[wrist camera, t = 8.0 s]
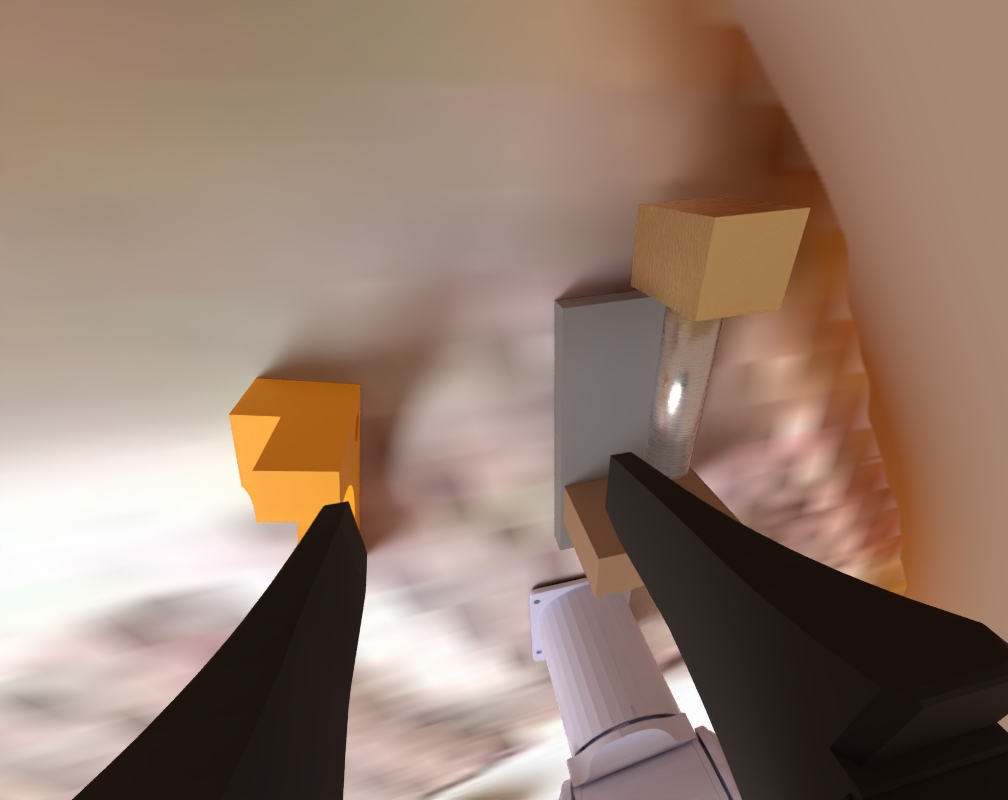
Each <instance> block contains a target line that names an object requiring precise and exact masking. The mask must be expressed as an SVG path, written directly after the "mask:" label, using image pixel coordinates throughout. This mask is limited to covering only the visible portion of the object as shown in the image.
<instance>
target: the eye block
mask: <svg viewBox="0 0 1008 800" xmlns="http://www.w3.org/2000/svg"><path fill="white" fill-rule="evenodd" d="M665 309H666V305H664V304H663V303H661V302H659V301H657V300H655V299H654V298H652V297H650V296H648V295H646V294H644V293H643V292H641V291H639V290H635V291H627V292H619V293H611V294H603V295H595V296H587V297H580V298H572V299H564V300H556V301H555V538H556V540H557V543H558V546H559V548H560V550H564V549H568V548H573V547H574V548H575V551H576V553H577V555H578V558H579V560H580V562H581V565H582V567H583V570H584V572H585V574H586V577H587V579H588V581H589V584H590V586H591V588H592V591H593V593H594V596H595V598H596V597H600V596H605V595H609V594H613V593H617V592H622V591H626V590H630V589H635V588H639V587H643V586H645V585H644V583H643V581H642V580H641V578H640V576H639V574H638V573H637V571H636V569H635V568H634V566H633V564H632V562H631V561H630V559H629V557H628V555H627V554H626V552H625V550H624V548H623V546H622V545H621V543H620V541H619V539H618V537H617V535H616V532H615V530H614V528H613V526H612V523H611V521H610V518H609V516H608V513H607V511H606V508H605V503H606V493H607V484H608V474H609V465H610V455H615V454H621V453H626V452H632V453H633V454H635V455H636V456H638V457H639V458H641V459H642V460H643V457H644V451H645V444H646V437H647V430H648V424H649V417H650V410H651V403H652V397H653V390H654V383H655V376H656V370H657V363H658V356H659V349H660V343H661V336H662V329H663V323H664V316H665ZM671 480H673V481H674V482H676V483H677V484H679V485H680V486H682V487H683V488H685V489H686V490H688V491H689V492H691V493H692V494H694V495H695V496H697V497H698V498H700V499H701V500H703V501H705V502H706V503H708V504H709V505H711V506H713V507H714V508H716V509H717V510H719V511H721V512H722V513H724V514H726V515H728V516H729V517H731V518H733V519H734V520H736V521H738V522H739V523H741V522H740V521H739V520H738V519H737V518H736V517H735V515H734V514H733V513H732V512H731V511H730V510H729V509H728V508H727V507H726V506H725V505H724V504H723V502H722V501H721V500H720V499H719V498H718V497H717V496H716V495H715V494H714V493H713V492H712V490H711V489H710V488H709V487H708V486H707V485H706V484H705V483H704V482H703V481H702V480H701V478H700V477H699V476H698V475H697V474H696V473H695V472H694V471H693V470H692V469H691V468H690V467H689V469H688V472H687V474H686V475H685V476H683V477H681V478H678V479H671ZM741 524H742V523H741Z"/></svg>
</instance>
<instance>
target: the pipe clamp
mask: <svg viewBox="0 0 1008 800" xmlns="http://www.w3.org/2000/svg"><path fill="white" fill-rule="evenodd" d="M229 418H230V423H231V429H232V434H233V440H234V446H235V451H236V457H237V463H238V468H239V474H240V479H241V485H242V487H243V488H244V489H245V490H246V491H247V492H248V494H249V496H250V498H251V500H252V503H253V506H254V510H255V515H256V523H264V522H298V544H299V542H300V541H301V539H302V538H303V536H304V535H305V533H306V531H307V530H308V528H309V527H310V525H311V524H312V522H313V521H314V519H315V518H316V516H317V515H318V513H319V512H320V510H321V509H322V507H323V506H324V505H329V504H335V503H340V502H346V501H349V504H350V506H351V509H352V512H353V515H354V518H355V521H356V523H357V526H358V529H359V532H360V385H359V384H342V383H326V382H310V381H294V380H278V379H262V378H256V379H255V380H254V382H253V383H252V384H251V386H250V387H249V388H248V390H247V391H246V392H245V394H244V395H243V396H242V398H241V399H240V401H239V402H238V403H237V405H236V406H235V407H234V409H233V410H232V411H231V413H230V414H229Z"/></svg>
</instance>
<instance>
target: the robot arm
mask: <svg viewBox="0 0 1008 800" xmlns="http://www.w3.org/2000/svg"><path fill="white" fill-rule="evenodd" d="M605 508H606V511H607V513H608V516H609V518H610V521H611V523H612V526H613V528H614V530H615V532H616V535H617V537H618V539H619V541H620V543H621V545H622V546H623V548H624V550H625V552H626V554H627V555H628V557H629V559H630V561H631V562H632V564H633V566H634V568H635V569H636V571H637V573H638V574H639V576H640V578H641V580H642V581H643V583H644V585H645V586H646V588H647V590H648V592H649V593H650V595H651V597H652V599H653V600H654V602H655V604H656V605H657V607H658V609H659V611H660V612H661V614H662V616H663V618H664V620H665V622H666V624H667V626H668V627H669V629H670V631H671V634H672V636H673V638H674V640H675V642H676V644H677V646H678V649H679V651H680V653H681V655H682V657H683V659H684V662H685V664H686V666H687V668H688V670H689V673H690V675H691V677H692V679H693V682H694V684H695V686H696V689H697V691H698V693H699V695H700V698H701V700H702V702H703V705H704V707H705V709H706V712H707V714H708V716H709V719H710V721H711V724H712V726H713V729H714V731H715V733H716V734H715V733H713V732H712V731H710V730H708V729H707V728H706V727H705V726H700V727H697V728H695V732H694V730H693V728H692V726H691V724H690V722H689V720H688V718H687V716H686V714H685V713H681V712H680V709H679V707H678V705H677V703H676V701H675V699H674V697H673V695H672V693H671V691H670V689H669V687H668V685H667V683H666V681H665V679H664V677H663V675H662V673H661V671H660V669H659V667H658V665H657V663H656V660H655V658H654V656H653V654H652V652H651V650H650V648H649V646H648V644H647V642H646V640H645V638H644V636H643V634H642V632H641V630H640V628H639V626H638V624H637V622H636V620H635V618H634V616H633V614H632V612H631V609H630V607H629V602H630V596H631V590H632V589H630V590H626V591H622V592H617V593H613V594H609V595H605V596H600V597H596V598H595V596H594V593H593V591H592V588H591V586H590V584H589V581H588V579H587V578H582V579H578V580H573V581H569V582H565V583H560V584H556V585H551V586H547V587H542V588H538V589H534V590H532V591H531V592H530V594H529V599H530V617H531V635H532V653H533V659H534V661H536V662H539V661H543V660H546V662H547V666H548V669H549V673H550V677H551V680H552V684H553V688H554V692H555V695H556V699H557V703H558V706H559V710H560V714H561V718H562V721H563V725H564V729H565V733H566V736H567V740H568V744H569V747H570V751H571V755H572V758H570V759H568V760H567V766H568V769H569V773H570V777H571V779H569V780H566V781H564V782H563V785H562V788H561V794H560V797H559V800H1008V732H1007V731H1006V730H1005V729H1003V728H1002V727H1001V726H1000V725H999V724H998V723H997V722H998V721H999V720H1001V719H1002V718H1003V717H1005V716H1006V715H1007V714H1008V643H1007V642H1005V641H1004V640H1003V639H1001V638H1000V637H999V636H998V635H997V634H995V633H994V632H993V631H992V630H990V629H989V628H988V627H987V626H985V625H984V624H982V623H980V622H977V621H974V620H971V619H968V618H965V617H962V616H959V615H956V614H953V613H950V612H947V611H944V610H941V609H939V608H936V607H932V606H929V605H926V604H924V603H921V602H918V601H915V600H912V599H909V598H906V597H903V596H901V595H898V594H895V593H893V592H890V591H888V590H885V589H882V588H880V587H877V586H875V585H872V584H869V583H867V582H864V581H862V580H859V579H857V578H854V577H852V576H849V575H847V574H845V573H842V572H840V571H837V570H835V569H833V568H831V567H828V566H826V565H824V564H822V563H819V562H817V561H815V560H813V559H810V558H808V557H806V556H804V555H801V554H799V553H797V552H795V551H793V550H791V549H789V548H787V547H785V546H783V545H781V544H779V543H777V542H775V541H773V540H771V539H769V538H767V537H765V536H763V535H761V534H760V533H758V532H756V531H754V530H752V529H750V528H748V527H747V526H745V525H743V524H741V523H739V522H738V521H736V520H734V519H733V518H731V517H729V516H728V515H726V514H724V513H722V512H721V511H719V510H717V509H716V508H714V507H713V506H711V505H709V504H708V503H706V502H705V501H703V500H701V499H700V498H698V497H697V496H695V495H694V494H692V493H691V492H689V491H688V490H686V489H685V488H683V487H682V486H680V485H679V484H677V483H676V482H674V481H673V480H671V479H670V478H668V477H667V476H665V475H664V474H663V473H661V472H660V471H658V470H657V469H655V468H654V467H652V466H651V465H650V464H648V463H647V462H645V461H644V460H642V459H641V458H639V457H638V456H636V455H635V454H633V453H632V452H626V453H621V454H615V455H610V465H609V474H608V484H607V493H606V503H605ZM366 573H367V552H366V549H365V546H364V543H363V540H362V538H361V535H360V532H359V529H358V526H357V523H356V521H355V518H354V515H353V512H352V509H351V506H350V504H349V501H346V502H340V503H335V504H329V505H324V506H323V507H322V509H321V510H320V512H319V513H318V515H317V516H316V518H315V519H314V521H313V522H312V524H311V525H310V527H309V528H308V530H307V531H306V533H305V535H304V536H303V538H302V539H301V541H300V542H299V544H298V545H297V547H296V548H295V550H294V551H293V553H292V554H291V555H290V557H289V558H288V560H287V561H286V563H285V564H284V565H283V567H282V568H281V570H280V571H279V573H278V574H277V575H276V577H275V578H274V580H273V581H272V583H271V584H270V585H269V587H268V588H267V589H266V591H265V592H264V593H263V595H262V596H261V597H260V599H259V600H258V601H257V602H256V604H255V605H254V606H253V608H252V609H251V610H250V612H249V613H248V614H247V616H246V617H245V618H244V619H243V621H242V622H241V623H240V625H239V626H238V627H237V628H236V629H235V631H234V632H233V633H232V634H231V636H230V637H229V638H228V639H227V640H226V642H225V643H224V644H223V645H222V646H221V648H220V649H219V650H218V651H217V652H216V653H215V655H214V656H213V657H212V658H211V659H210V660H209V661H208V663H207V664H206V665H205V666H204V667H203V668H202V669H201V671H200V672H199V673H198V674H197V675H196V676H195V677H194V678H193V679H192V680H191V682H190V683H189V684H188V685H187V686H186V687H185V688H184V689H183V690H182V691H181V692H180V693H179V694H178V696H177V697H176V698H175V699H174V700H173V701H172V702H171V703H170V704H169V705H168V706H167V707H166V708H165V709H164V710H163V711H162V712H161V713H160V714H159V715H158V716H157V717H156V719H155V720H154V721H153V722H152V723H151V724H150V725H149V726H148V727H147V728H146V729H145V730H144V731H143V732H142V733H141V734H140V735H139V736H138V737H137V738H136V739H135V740H134V741H133V742H132V743H131V744H130V745H129V746H128V747H127V748H126V749H125V750H124V751H123V752H122V753H121V754H120V755H119V756H118V757H116V758H115V759H114V760H113V761H112V762H111V763H110V764H109V765H108V766H107V767H106V768H105V769H104V770H103V771H102V772H101V773H100V774H99V775H98V776H97V777H96V778H94V779H93V780H92V781H91V782H90V783H89V784H88V785H87V786H86V787H85V788H84V789H83V790H82V791H81V792H80V793H79V794H78V795H76V796H75V797H74V798H73V799H72V800H343V789H344V770H345V752H346V737H347V722H348V708H349V699H350V691H351V683H352V677H353V671H354V664H355V658H356V651H357V645H358V639H359V632H360V626H361V620H362V613H363V606H364V600H365V593H366ZM695 733H696V734H695Z"/></svg>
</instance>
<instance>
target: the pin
mask: <svg viewBox="0 0 1008 800" xmlns="http://www.w3.org/2000/svg"><path fill="white" fill-rule="evenodd" d="M809 212H810V207H801V206H791V205H782V204H772V203H763V202H753V201H743V200H734V199H724V198H715V197H710V198H700V199H690V200H679V201H669V202H659V203H648V204H639V206H638V216H637V226H636V236H635V247H634V257H633V267H632V277H631V286H632V287H634V288H635V289H637V290H639V291H641V292H643V293H644V294H646V295H648V296H650V297H652V298H654V299H655V300H657V301H659V302H661V303H663V304H664V305H666V309H665V316H664V323H663V329H662V336H661V343H660V349H659V356H658V363H657V370H656V376H655V383H654V390H653V397H652V403H651V410H650V417H649V424H648V430H647V437H646V444H645V451H644V457H643V460H644V461H645V462H647V463H648V464H650V465H651V466H652V467H654V468H655V469H657V470H658V471H660V472H661V473H663V474H664V475H665V476H667V477H668V478H670V479H678V478H681V477H683V476H685V475H686V474H687V472H688V469H689V465H690V461H691V456H692V452H693V447H694V443H695V439H696V434H697V430H698V425H699V421H700V417H701V412H702V408H703V404H704V399H705V395H706V390H707V386H708V382H709V377H710V373H711V368H712V364H713V360H714V355H715V351H716V347H717V342H718V338H719V333H720V329H721V325H722V320H723V318H724V317H731V316H738V315H745V314H752V313H759V312H766V311H773V310H780V308H781V304H782V301H783V298H784V294H785V291H786V288H787V285H788V281H789V278H790V275H791V271H792V268H793V265H794V261H795V258H796V255H797V251H798V248H799V245H800V241H801V238H802V235H803V231H804V228H805V225H806V222H807V218H808V215H809Z"/></svg>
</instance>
